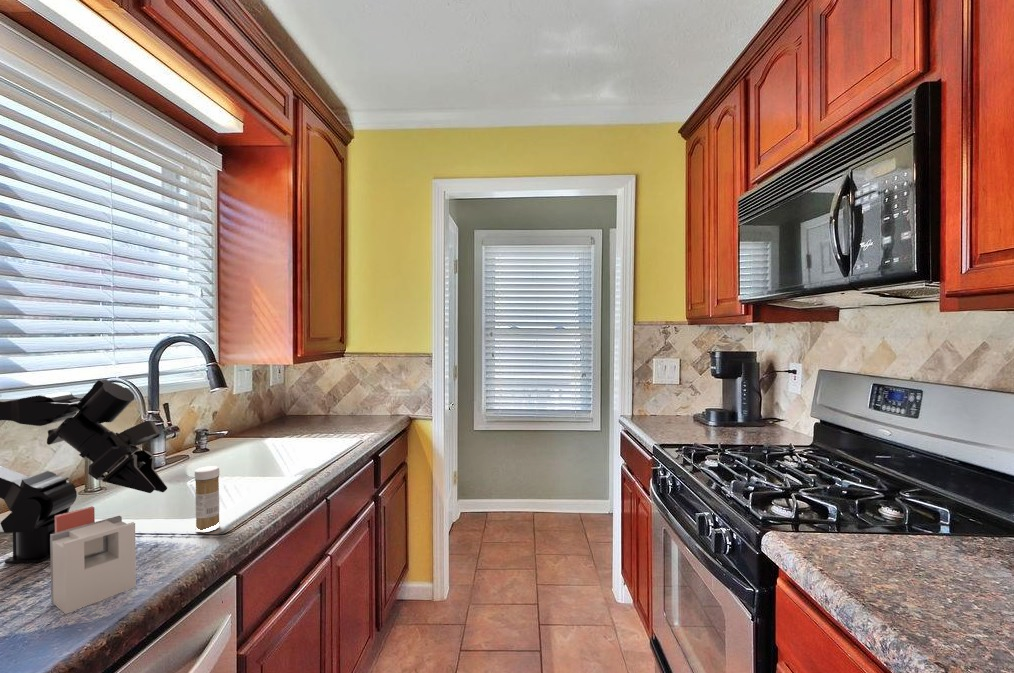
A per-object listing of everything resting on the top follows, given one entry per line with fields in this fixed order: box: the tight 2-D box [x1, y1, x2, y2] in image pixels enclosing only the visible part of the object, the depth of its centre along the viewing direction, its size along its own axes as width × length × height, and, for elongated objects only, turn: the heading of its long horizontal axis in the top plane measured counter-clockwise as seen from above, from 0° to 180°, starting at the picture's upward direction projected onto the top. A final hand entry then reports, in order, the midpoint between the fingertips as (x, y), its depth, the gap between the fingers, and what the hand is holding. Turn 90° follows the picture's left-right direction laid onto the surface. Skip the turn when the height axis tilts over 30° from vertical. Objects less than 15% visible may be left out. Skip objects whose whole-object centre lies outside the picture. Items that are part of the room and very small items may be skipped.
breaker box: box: [50, 515, 137, 615], centre depth 78 cm, size 6×9×11 cm
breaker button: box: [55, 506, 103, 556], centre depth 80 cm, size 8×5×6 cm, turn 59°
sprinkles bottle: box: [193, 465, 220, 530], centre depth 103 cm, size 5×5×14 cm
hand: (159, 490), depth 94 cm, fingers open, 9 cm apart
